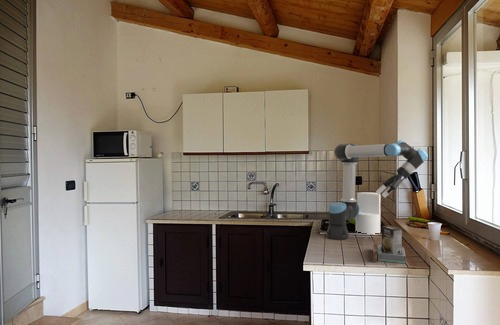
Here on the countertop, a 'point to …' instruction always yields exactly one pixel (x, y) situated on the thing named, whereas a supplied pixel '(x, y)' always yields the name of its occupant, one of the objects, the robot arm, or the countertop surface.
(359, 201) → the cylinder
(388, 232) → the coffee box
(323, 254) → the countertop surface
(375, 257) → the board
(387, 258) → the tray
